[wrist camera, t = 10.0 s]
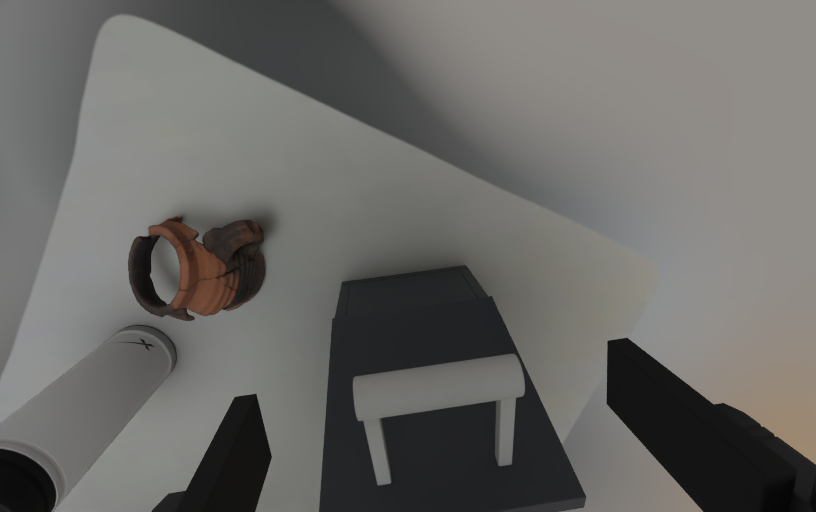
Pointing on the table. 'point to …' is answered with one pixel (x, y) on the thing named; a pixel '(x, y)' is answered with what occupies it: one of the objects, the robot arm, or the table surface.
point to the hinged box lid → (438, 417)
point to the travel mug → (78, 418)
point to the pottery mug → (200, 268)
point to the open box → (407, 291)
